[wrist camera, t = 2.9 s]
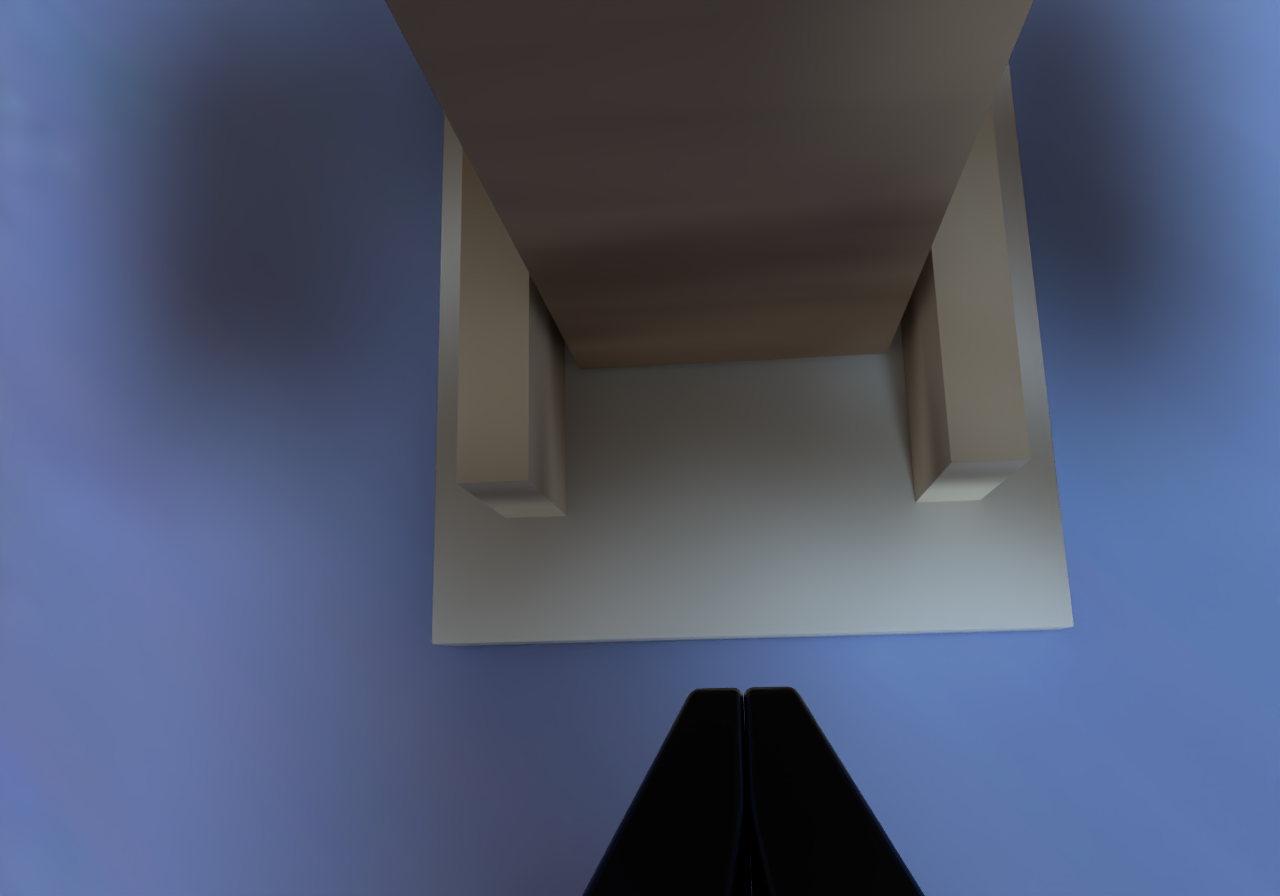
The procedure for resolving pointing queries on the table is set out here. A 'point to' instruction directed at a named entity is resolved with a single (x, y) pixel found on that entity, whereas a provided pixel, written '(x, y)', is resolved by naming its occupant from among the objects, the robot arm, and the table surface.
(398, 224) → the table surface
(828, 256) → the block
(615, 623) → the chute
